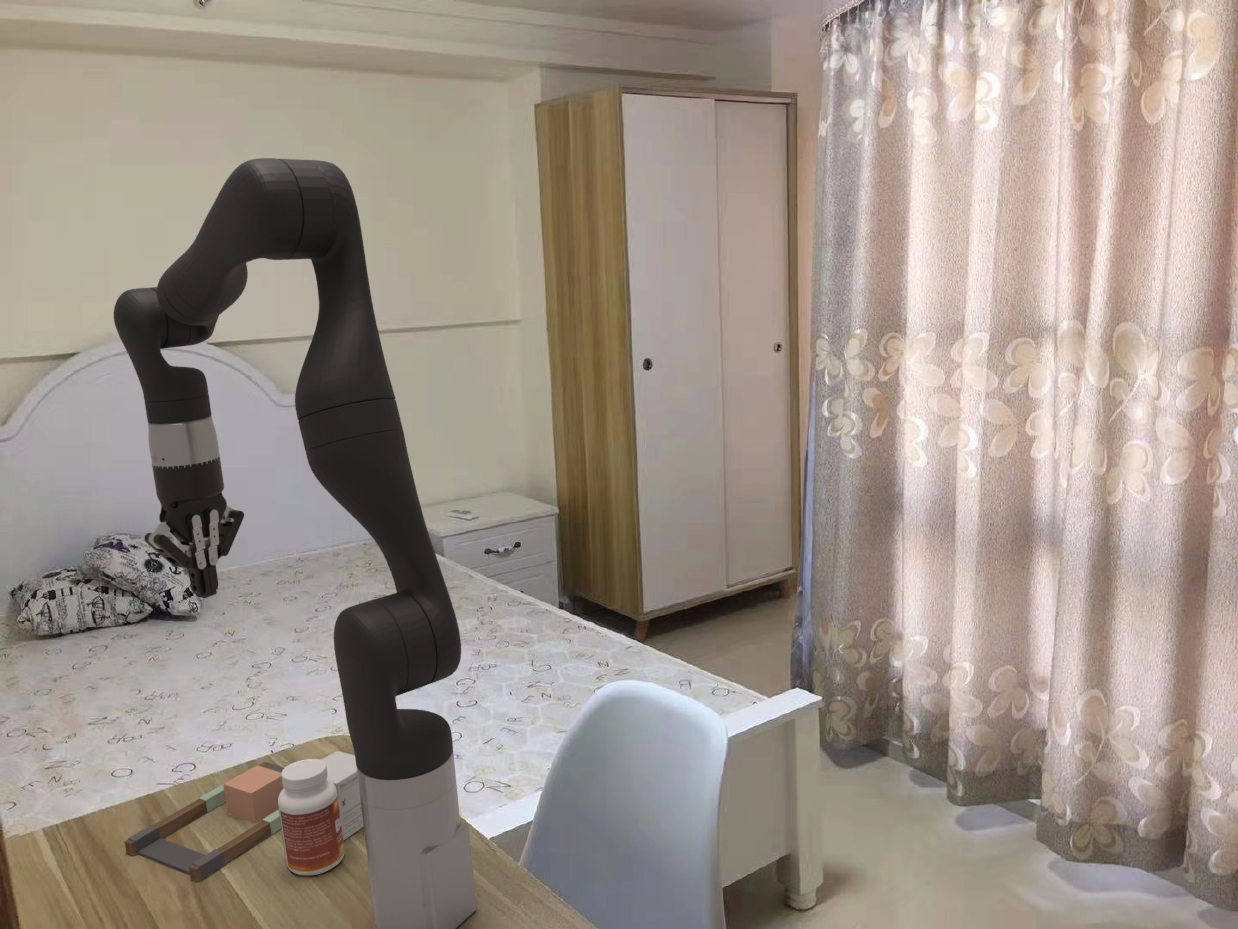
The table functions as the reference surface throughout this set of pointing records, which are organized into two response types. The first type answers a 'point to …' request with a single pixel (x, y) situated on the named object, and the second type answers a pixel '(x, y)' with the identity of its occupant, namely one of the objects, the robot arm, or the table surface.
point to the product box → (346, 790)
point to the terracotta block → (253, 793)
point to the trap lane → (189, 860)
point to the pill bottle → (310, 818)
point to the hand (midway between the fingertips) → (206, 595)
